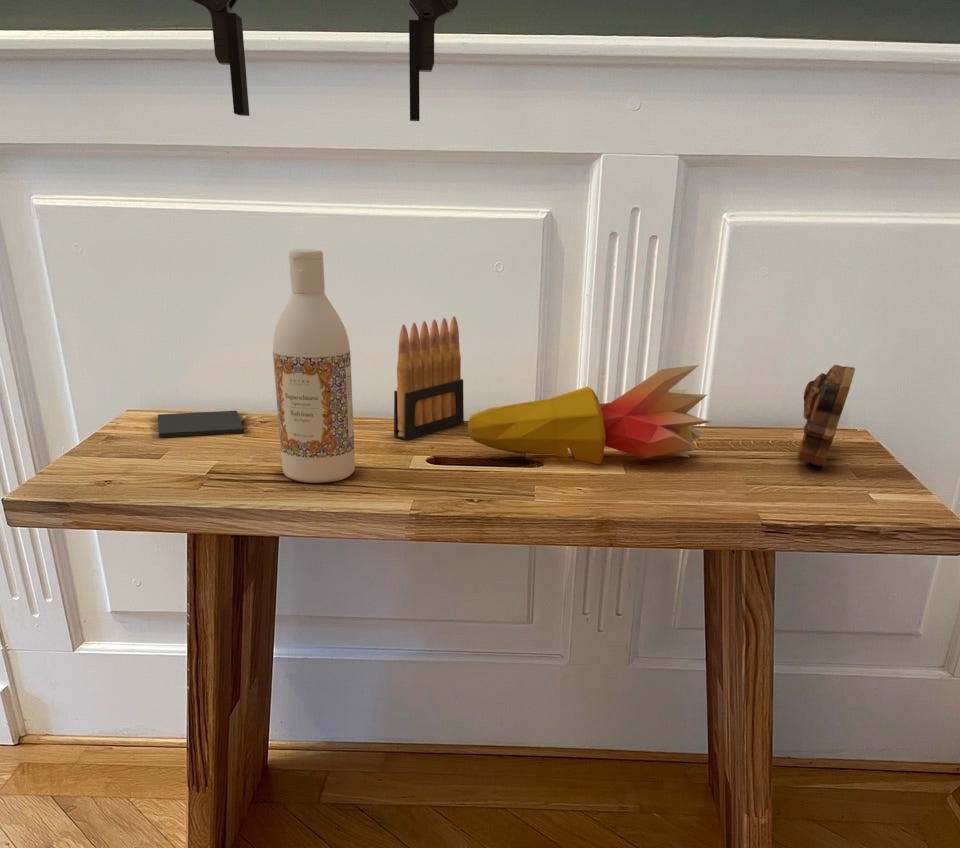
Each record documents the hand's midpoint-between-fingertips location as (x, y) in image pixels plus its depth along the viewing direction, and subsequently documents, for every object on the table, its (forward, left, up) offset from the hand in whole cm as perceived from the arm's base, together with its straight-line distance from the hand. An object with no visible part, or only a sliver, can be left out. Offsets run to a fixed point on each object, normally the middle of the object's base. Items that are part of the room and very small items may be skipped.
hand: (328, 118), depth 72 cm
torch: (+26, +3, -30) cm, 40 cm away
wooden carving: (+49, -5, -30) cm, 58 cm away
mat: (-12, +26, -30) cm, 41 cm away
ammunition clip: (+13, +18, -30) cm, 37 cm away
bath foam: (-2, +4, -30) cm, 30 cm away
